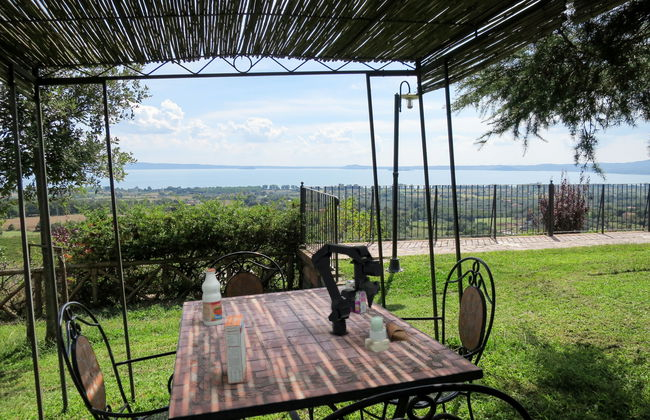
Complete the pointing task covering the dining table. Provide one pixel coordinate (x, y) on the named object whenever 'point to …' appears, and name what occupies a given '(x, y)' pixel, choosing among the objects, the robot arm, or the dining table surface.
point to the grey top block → (378, 335)
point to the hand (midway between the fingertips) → (361, 310)
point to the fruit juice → (211, 299)
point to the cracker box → (235, 349)
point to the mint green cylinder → (376, 323)
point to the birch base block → (376, 345)
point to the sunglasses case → (396, 332)
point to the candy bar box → (360, 300)
